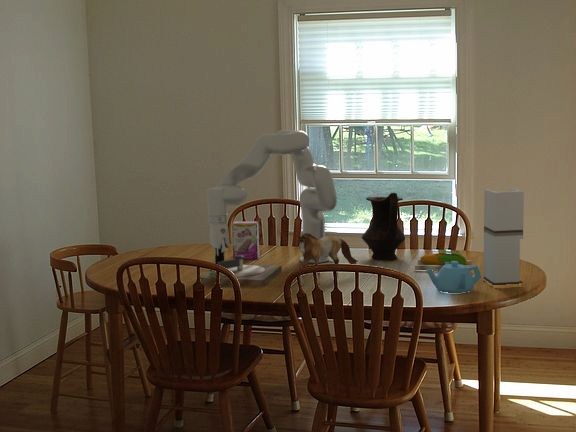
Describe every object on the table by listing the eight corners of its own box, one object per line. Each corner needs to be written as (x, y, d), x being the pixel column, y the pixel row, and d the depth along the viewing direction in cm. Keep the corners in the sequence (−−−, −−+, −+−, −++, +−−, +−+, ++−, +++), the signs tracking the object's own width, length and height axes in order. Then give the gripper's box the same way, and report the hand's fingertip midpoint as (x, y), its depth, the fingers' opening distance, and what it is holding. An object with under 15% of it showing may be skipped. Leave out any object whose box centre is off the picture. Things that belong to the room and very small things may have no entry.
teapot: (463, 298, 279) (463, 268, 277) (425, 292, 288) (425, 263, 287) (483, 289, 290) (483, 260, 289) (445, 283, 300) (446, 255, 298)
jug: (355, 257, 353) (354, 189, 348) (393, 253, 358) (393, 186, 354) (375, 266, 333) (374, 194, 328) (415, 262, 338) (415, 191, 334)
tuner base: (281, 271, 329) (281, 262, 328) (263, 286, 304) (263, 277, 303) (219, 269, 336) (219, 260, 335) (196, 284, 311) (196, 274, 310)
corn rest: (472, 266, 327) (472, 260, 327) (471, 272, 316) (471, 266, 316) (417, 264, 333) (417, 259, 333) (414, 271, 322) (414, 265, 321)
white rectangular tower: (522, 287, 291) (523, 191, 286) (493, 288, 291) (494, 192, 285) (510, 279, 303) (512, 187, 297) (483, 281, 302) (484, 188, 296)
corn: (462, 253, 315) (415, 249, 326) (462, 273, 316) (415, 268, 327) (469, 251, 321) (423, 247, 333) (469, 270, 322) (423, 265, 333)
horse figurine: (303, 290, 297) (301, 235, 294) (288, 286, 303) (287, 233, 299) (359, 275, 318) (358, 224, 315) (344, 272, 323) (343, 222, 320)
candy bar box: (233, 259, 355) (231, 223, 352) (234, 257, 360) (233, 221, 357) (258, 259, 353) (256, 222, 351) (259, 257, 358) (258, 221, 356)
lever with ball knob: (240, 268, 322) (240, 254, 321) (246, 269, 319) (245, 255, 318) (216, 273, 314) (215, 259, 313) (221, 274, 311) (221, 260, 311)
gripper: (234, 220, 308) (236, 267, 311) (219, 216, 322) (221, 260, 324) (215, 222, 305) (218, 269, 308) (202, 217, 318) (204, 263, 321)
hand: (220, 265), depth 316 cm, fingers closed
